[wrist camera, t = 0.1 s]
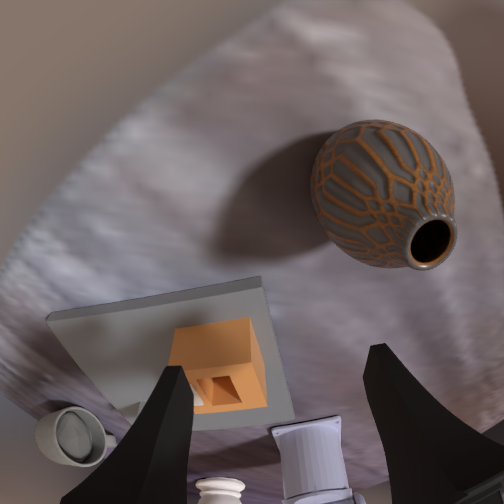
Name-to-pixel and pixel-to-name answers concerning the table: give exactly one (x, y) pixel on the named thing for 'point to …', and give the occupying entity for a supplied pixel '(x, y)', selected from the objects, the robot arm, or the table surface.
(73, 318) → the board
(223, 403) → the orange cubby crate
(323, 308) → the table surface
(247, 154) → the table surface
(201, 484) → the cherub figurine
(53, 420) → the ceramic mug
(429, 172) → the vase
